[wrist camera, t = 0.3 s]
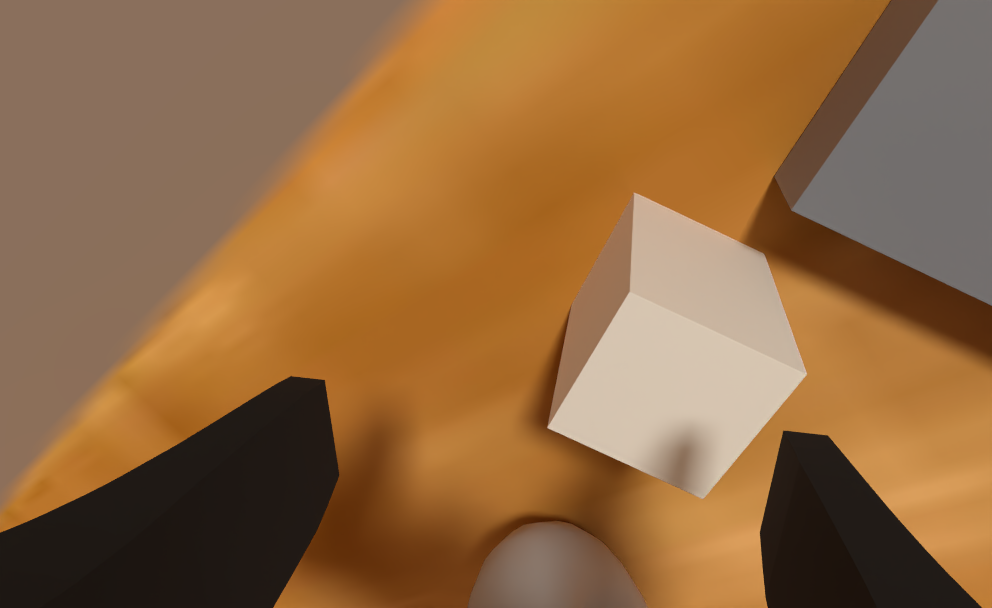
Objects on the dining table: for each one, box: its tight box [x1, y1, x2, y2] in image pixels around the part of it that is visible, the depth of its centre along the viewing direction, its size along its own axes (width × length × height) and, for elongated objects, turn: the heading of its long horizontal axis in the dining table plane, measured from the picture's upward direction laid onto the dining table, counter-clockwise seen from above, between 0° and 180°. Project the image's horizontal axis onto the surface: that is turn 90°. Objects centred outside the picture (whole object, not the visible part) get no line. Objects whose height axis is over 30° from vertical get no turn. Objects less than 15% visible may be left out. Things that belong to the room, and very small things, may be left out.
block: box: [547, 193, 807, 499], centre depth 18 cm, size 4×4×6 cm
